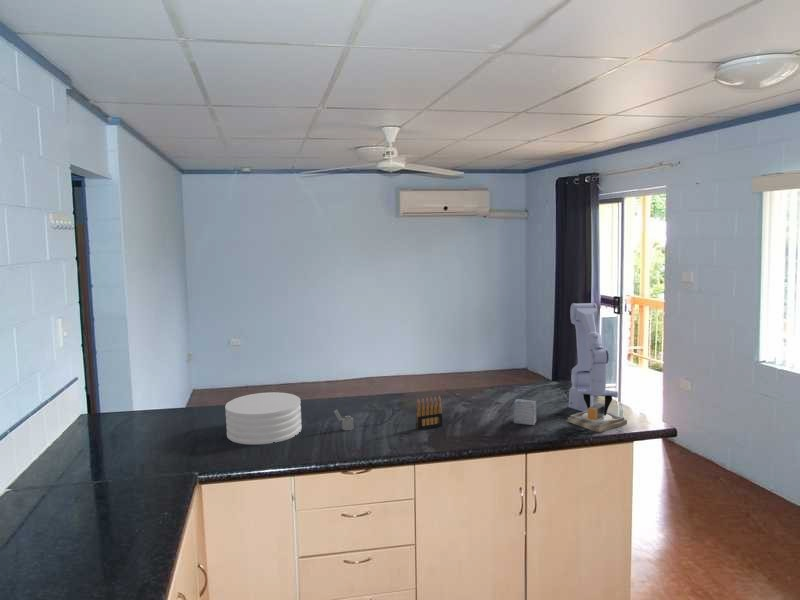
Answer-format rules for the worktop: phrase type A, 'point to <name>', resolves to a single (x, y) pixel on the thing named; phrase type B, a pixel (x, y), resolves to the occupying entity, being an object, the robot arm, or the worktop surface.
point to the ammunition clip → (428, 414)
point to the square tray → (597, 427)
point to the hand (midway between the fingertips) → (597, 414)
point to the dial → (597, 414)
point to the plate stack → (263, 418)
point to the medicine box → (525, 411)
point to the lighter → (345, 421)
